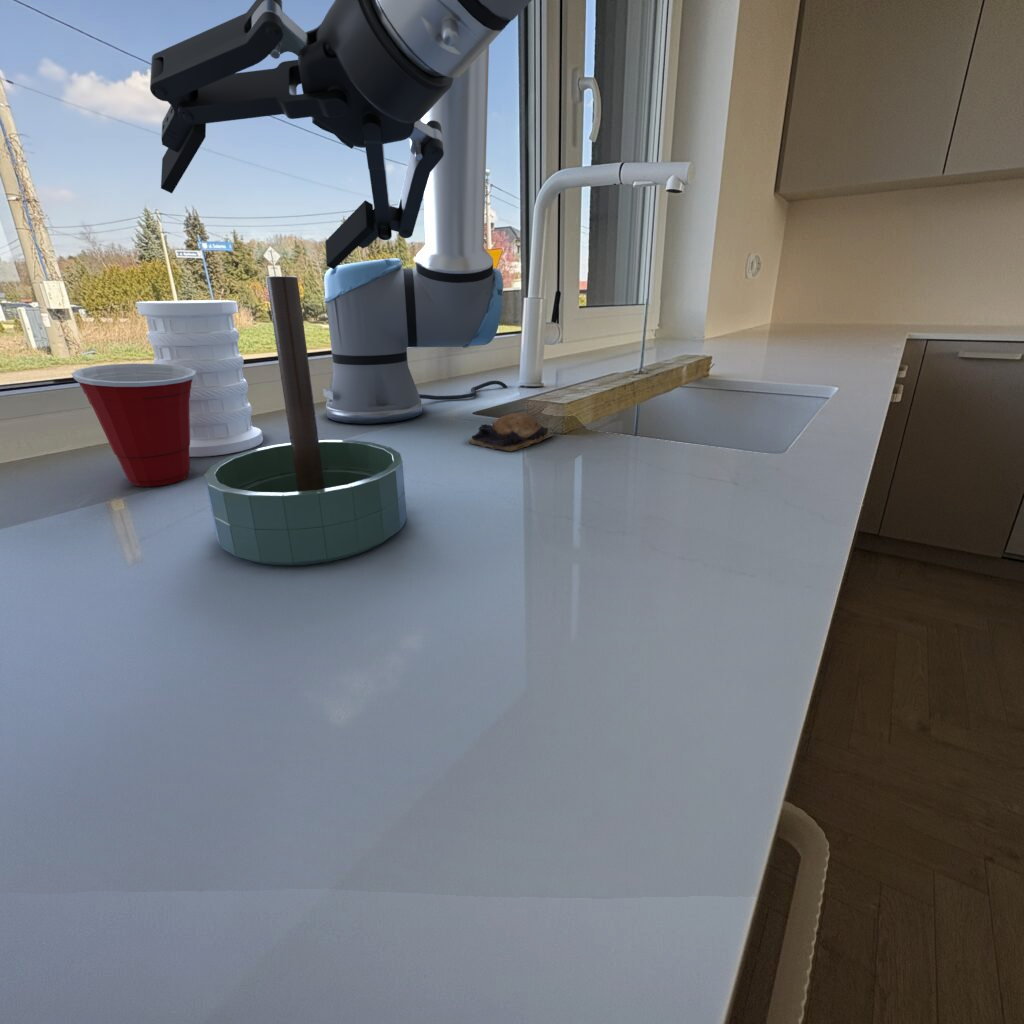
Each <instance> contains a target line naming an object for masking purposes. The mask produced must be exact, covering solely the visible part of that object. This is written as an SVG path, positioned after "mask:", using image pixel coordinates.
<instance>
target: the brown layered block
mask: <svg viewBox="0 0 1024 1024" xmlns="http://www.w3.org/2000/svg"><path fill="white" fill-rule="evenodd" d="M551 437H554V431H553V430H551V429H549V428H548V427H545V426H543V425H542V424H541V423H540V421H538V420H537V419H536V418H535V417H532V416H531V415H530V414H527V413H524V412H512V413H509V414H504V415H502V416H500V417H497V419H495V420H494V421H492V422H491V425H490V424H486V423H483V424H481V425H479V427H478V432H477V433H476V434H474V435H472V436H471V438H470V439H468V442H469V444H471V445H477V446H480V447H484V448H486V447H488V448H490V449H492V450H496V449H497V450H501V451H506V452H510V453H511V452H513V451H517V450H521V449H523V448H524V447H527V448H528V447H529V446H530V445H531V444H537V443H540V442H542V441H543V440H547V439H548V438H551Z"/></svg>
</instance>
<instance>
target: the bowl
mask: <svg viewBox="0 0 1024 1024" xmlns="http://www.w3.org/2000/svg"><path fill="white" fill-rule="evenodd" d="M319 447H320V455H321V462H322V470H323V478H324V485H325V489H320V490H311V491H299V492H298V488H297V481H296V474H295V468H294V461H293V454H292V448H291V442H287V443H279V444H274V445H268V446H263V447H259V448H253V449H248V450H245V451H242V452H241V453H237V454H234V455H231V456H228V457H225V458H224V459H222V460H219V461H218V462H216V463H214V464H213V465H210V467H208V469H207V471H206V472H205V473H204V474H203V481H204V484H205V491H206V495H207V500H208V504H209V509H210V513H211V518H212V522H213V527H214V531H215V536H216V540H217V542H218V544H219V547H220V548H221V549H222V550H223V551H225V552H227V553H229V554H231V555H232V556H234V557H237V558H240V559H244V560H247V561H250V562H253V563H257V564H263V565H272V566H305V565H306V566H307V565H315V564H316V565H317V564H322V563H328V562H334V561H338V560H343V559H346V558H350V557H353V556H357V555H359V554H362V553H365V552H368V551H369V550H372V549H374V548H375V547H378V546H379V545H381V544H383V543H384V542H386V541H387V540H388V539H390V538H391V537H392V536H394V535H395V534H396V533H398V532H399V531H401V530H402V528H403V526H404V524H405V522H406V521H407V520H408V519H407V516H408V515H407V503H406V502H407V501H406V491H405V476H404V464H403V463H404V461H403V458H402V455H401V453H400V452H398V451H397V450H395V449H394V448H392V447H390V446H387V445H383V444H379V443H376V442H370V441H360V440H353V439H352V440H351V439H323V440H321V439H319Z"/></svg>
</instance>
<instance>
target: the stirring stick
mask: <svg viewBox="0 0 1024 1024" xmlns="http://www.w3.org/2000/svg"><path fill="white" fill-rule="evenodd" d="M265 278H266V280H265V281H266V286H267V293H268V301H269V307H270V313H271V320H272V326H273V327H272V328H273V335H274V340H275V347H276V354H277V359H278V360H277V361H278V367H279V373H280V381H281V387H282V393H283V400H284V407H285V413H286V421H287V427H288V434H289V439H290V440H289V442H290V443H291V448H292V454H293V461H294V468H295V474H296V481H297V488H298V492H299V491H311V490H320V489H325V485H324V478H323V470H322V462H321V455H320V447H319V440H320V439H319V433H318V424H317V417H316V409H315V402H314V393H313V386H312V380H311V379H312V378H311V370H310V364H309V356H308V347H307V339H306V332H305V325H304V324H305V323H304V317H303V309H302V301H301V295H300V294H301V293H300V287H299V286H300V285H299V280H298V277H297V276H292V275H291V276H288V275H286V276H285V275H283V276H280V275H279V276H278V275H277V276H275V275H273V276H270V275H269V276H268V275H267V276H266V277H265Z"/></svg>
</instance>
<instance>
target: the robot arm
mask: <svg viewBox="0 0 1024 1024" xmlns="http://www.w3.org/2000/svg"><path fill="white" fill-rule="evenodd" d="M532 1H533V0H334V2H333V3H332V4H331V6H330V7H329V9H328V11H327V13H326V14H325V16H324V18H323V19H322V21H321V23H320V24H319V25H318V26H317V27H315V28H313V29H311V30H308V31H304V29H302V28H301V27H300V26H299V25H298V24H297V23H296V22H295V21H294V20H292V19H291V18H290V17H289V16H288V15H287V14H286V13H285V12H284V11H283V0H255V1H254V2H253V4H252V5H251V6H250V7H249V9H248V10H247V11H246V12H245V13H242V14H240V15H238V16H236V17H234V18H232V19H229V20H226V21H225V22H223V23H220V24H218V25H216V26H213V27H211V28H209V29H207V30H204V31H202V32H200V33H198V34H196V35H194V36H191V37H189V38H187V39H184V40H182V41H180V42H178V43H175V44H173V45H170V46H169V47H167V48H165V49H164V48H163V49H162V50H160V51H157V52H155V53H153V54H152V56H151V65H150V82H149V83H150V84H149V90H150V92H151V94H152V96H153V97H155V99H157V100H159V101H161V102H167V103H168V104H169V105H170V106H169V108H168V110H167V112H166V114H165V116H164V117H163V120H162V121H161V145H162V146H164V147H166V148H167V149H166V151H165V153H164V155H163V156H162V158H161V175H160V178H161V179H160V189H161V190H164V191H165V192H168V193H170V194H173V193H174V191H175V190H176V188H177V186H178V184H179V183H180V181H181V180H182V178H183V176H184V174H185V173H186V171H187V169H188V168H189V166H190V164H191V162H193V161H192V160H193V159H194V157H195V156H196V154H197V152H198V151H199V149H200V147H201V146H202V144H203V142H204V140H205V139H206V135H207V134H206V132H207V124H213V123H214V124H215V123H222V122H230V121H239V120H247V119H255V118H256V119H257V118H263V117H271V116H280V115H281V116H282V115H284V116H286V117H287V119H290V120H295V119H304V118H311V121H312V124H313V125H314V126H316V127H318V128H319V129H321V130H323V131H325V132H328V133H330V134H332V135H334V136H336V138H337V139H338V140H339V141H340V142H341V143H342V144H343V145H345V146H346V147H348V148H350V149H353V148H354V147H355V148H359V149H360V148H361V149H365V154H366V161H367V168H368V172H369V173H368V174H369V180H370V181H369V182H370V187H371V195H372V202H373V204H372V203H371V202H369V201H368V200H366V199H365V200H364V201H362V203H361V204H360V205H359V206H358V207H357V208H356V209H355V210H354V211H353V212H352V213H351V214H350V215H349V216H348V217H347V218H346V219H345V221H343V223H342V224H341V225H340V226H338V228H337V229H336V230H335V231H334V232H333V233H332V234H331V235H330V236H329V237H328V238H327V239H326V240H325V259H326V260H325V261H326V267H328V270H326V272H325V274H324V278H323V279H324V281H323V282H324V300H323V301H324V304H326V313H327V321H328V329H329V340H330V349H331V358H332V373H331V378H330V383H329V388H328V390H327V389H325V388H323V389H322V391H323V397H324V398H327V399H326V403H325V409H326V416H327V418H328V419H329V420H331V421H335V422H338V423H339V422H340V423H345V424H346V423H347V424H384V423H393V422H399V421H400V422H401V421H405V420H410V419H413V418H416V417H418V416H419V415H421V414H422V412H423V408H422V407H423V406H422V405H423V404H422V399H424V400H433V401H444V400H445V401H446V400H447V401H449V400H463V399H470V398H474V397H475V396H477V393H478V392H477V391H478V390H481V389H483V388H486V387H488V386H492V385H498V386H501V387H502V388H503V389H508V387H509V386H508V385H507V384H506V383H504V382H503V381H500V380H490V381H486V382H483V383H481V384H478V385H475V386H473V387H471V388H470V392H471V393H470V392H469V393H464V394H463V393H462V394H454V395H453V394H452V395H432V394H422V393H420V394H419V391H418V389H417V386H416V383H415V380H414V378H413V375H412V372H411V370H410V368H409V363H408V348H465V349H467V348H469V347H477V346H480V347H481V346H486V345H489V344H490V343H491V342H492V341H493V340H494V338H495V337H496V335H497V332H498V329H499V325H500V321H501V316H502V310H503V303H504V300H503V299H504V297H503V293H504V279H503V274H502V273H501V270H500V269H497V268H496V267H494V258H493V256H492V255H491V254H490V253H489V251H487V249H486V248H485V246H484V245H485V214H486V213H485V212H486V177H487V175H486V174H487V141H488V140H487V135H488V104H489V103H488V100H489V99H488V98H489V97H488V96H489V66H490V65H489V62H490V61H489V60H490V45H491V44H492V43H493V41H494V40H495V39H497V37H498V36H499V35H501V33H502V32H503V31H504V30H505V28H507V26H508V25H509V24H510V23H511V22H512V21H513V20H515V19H516V18H517V17H518V15H519V14H520V13H521V12H522V11H523V10H525V8H526V7H527V6H528V5H529V4H530V3H531V2H532ZM288 52H289V53H292V54H294V55H296V56H297V59H292V60H284V61H281V62H280V63H278V65H277V66H276V67H274V68H268V69H260V70H250V71H243V70H246V69H249V68H251V67H254V66H255V65H257V64H259V63H261V62H262V61H264V60H265V59H266V58H267V57H268V56H271V58H272V59H274V60H276V59H277V60H278V59H279V58H280V57H281V55H283V54H284V53H288ZM241 71H242V72H241ZM299 85H301V89H302V93H300V94H297V93H298V92H297V87H298V86H299ZM408 139H409V147H410V148H409V149H410V154H409V158H408V162H407V167H406V170H405V174H404V179H403V181H402V182H403V183H402V187H401V192H400V196H399V200H398V204H397V207H395V206H393V205H390V195H389V194H390V193H389V183H388V175H387V166H386V156H385V146H384V145H386V144H392V143H397V142H403V141H405V140H408ZM422 203H423V205H424V206H423V208H424V209H423V210H424V211H423V212H424V234H425V235H424V237H425V238H424V239H425V244H424V246H423V247H422V248H421V249H420V250H419V251H418V252H417V254H416V255H415V268H403V263H402V262H401V260H400V258H398V257H395V258H394V257H393V258H383V259H375V260H374V259H373V260H366V261H359V262H352V263H345V264H341V263H342V262H344V261H345V260H346V258H347V257H348V256H349V255H351V253H353V252H354V251H355V250H356V249H357V248H358V247H359V248H361V249H366V248H368V247H370V245H371V244H372V243H373V242H374V241H376V240H377V239H379V240H382V241H388V240H391V239H392V236H393V235H392V234H393V233H392V232H396V233H398V236H399V237H400V238H403V239H409V238H411V237H412V236H413V233H414V231H415V227H416V223H417V220H418V217H419V213H420V209H421V205H422Z"/></svg>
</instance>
